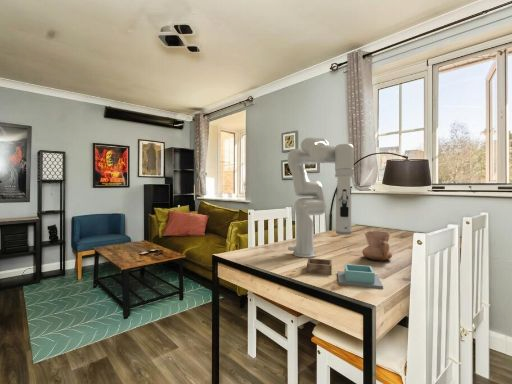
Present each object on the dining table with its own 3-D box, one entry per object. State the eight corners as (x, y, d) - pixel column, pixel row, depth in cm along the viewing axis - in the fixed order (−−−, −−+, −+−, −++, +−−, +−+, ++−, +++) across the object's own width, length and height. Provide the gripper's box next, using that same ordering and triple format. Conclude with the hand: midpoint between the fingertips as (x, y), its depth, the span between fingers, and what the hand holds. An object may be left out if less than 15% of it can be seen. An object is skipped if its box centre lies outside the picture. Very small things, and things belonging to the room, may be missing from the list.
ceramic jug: (356, 254, 153) (356, 229, 152) (381, 254, 154) (381, 229, 153) (372, 265, 135) (373, 236, 134) (400, 264, 136) (401, 235, 135)
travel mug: (349, 235, 111) (350, 186, 111) (333, 233, 115) (333, 186, 115) (353, 233, 117) (353, 186, 116) (338, 231, 120) (338, 186, 120)
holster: (306, 272, 122) (306, 263, 121) (308, 266, 131) (308, 258, 131) (331, 274, 119) (331, 265, 119) (331, 268, 128) (331, 259, 128)
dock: (338, 284, 107) (339, 271, 107) (337, 273, 121) (337, 262, 121) (383, 288, 103) (383, 275, 103) (376, 276, 117) (377, 265, 116)
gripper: (334, 174, 125) (334, 214, 125) (334, 172, 108) (334, 217, 108) (352, 174, 123) (352, 214, 123) (355, 172, 106) (354, 218, 106)
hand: (344, 215), depth 116 cm, fingers closed on travel mug, 6 cm apart
